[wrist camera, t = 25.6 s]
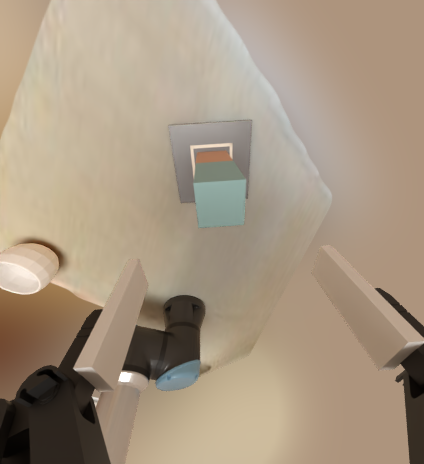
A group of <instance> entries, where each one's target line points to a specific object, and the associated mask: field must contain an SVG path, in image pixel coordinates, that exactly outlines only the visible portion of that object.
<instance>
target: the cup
mask: <svg viewBox="0 0 424 464" xmlns="http://www.w3.org/2000/svg"><path fill="white" fill-rule="evenodd" d="M58 268H59V261H58V257H57V256H56V254H55V253H54V252H53V251H52V250H50V249H49V248H47V247H45V246H43V245H39V244H35V243H29V244H19V245H16V246H13V247H10V248H8V249H6V250H4V251H2V252H1V253H0V288H2V289H4V290H7V291H10V292H12V293H18V294H32V293H35V292H37V291H39V290H41V289H42V288H44V287H45V286H47V284H48V283H49V282H50V281H51V280H52V279H53V278H54V276H55V275H56V273H57V271H58Z"/></svg>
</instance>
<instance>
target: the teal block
mask: <svg viewBox="0 0 424 464" xmlns="http://www.w3.org/2000/svg"><path fill="white" fill-rule="evenodd" d="M193 185H194V193H195V202H196V211H197V219H198V228H207V227H221V226H235V225H244V216H245V194H246V178H245V177H244V175H243V174H242V172H241V171H240V170H239V168H238V167H237V165H236V164H235V162H234V161H220V162H206V163H196V167H195V174H194V182H193Z"/></svg>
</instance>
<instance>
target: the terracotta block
mask: <svg viewBox="0 0 424 464" xmlns="http://www.w3.org/2000/svg"><path fill="white" fill-rule="evenodd" d="M220 161H233V160H232V158H231V157H230V155H229V154H228V152H227V151H226V150H224V151H210V152H197V157H196V163H206V162H220Z"/></svg>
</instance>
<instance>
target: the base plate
mask: <svg viewBox="0 0 424 464" xmlns="http://www.w3.org/2000/svg"><path fill="white" fill-rule="evenodd" d="M168 127H169V133H170V139H171V146H172V152H173V158H174V164H175V170H176V177H177V183H178V189H179V195H180V201H181V203H191V202H195V193H194V185H193V182H194V174H195V167H196V157H197V152H210V151H224V150H226V151H227V152H228V154H229V155H230V157H231V158H232V160H233V161H234V162H235V164H236V165H237V167H238V168H239V170H240V171H241V172H242V174H243V175H244V177H245V178H246V194H245V199H248V182H249V164H250V146H251V128H252V120H242V121H227V122H211V123H196V124H181V125H169V126H168Z"/></svg>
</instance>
